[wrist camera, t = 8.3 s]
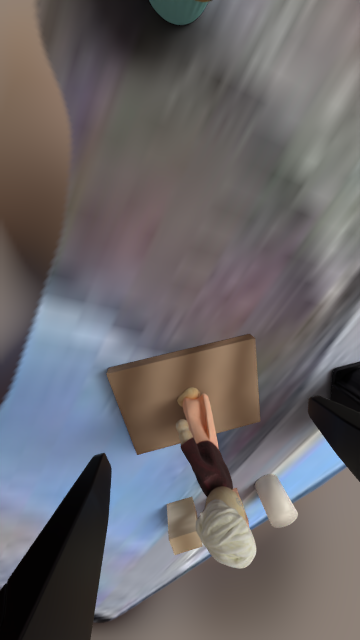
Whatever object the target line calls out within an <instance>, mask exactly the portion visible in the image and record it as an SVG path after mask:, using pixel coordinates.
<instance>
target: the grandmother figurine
mask: <svg viewBox="0 0 360 640" xmlns="http://www.w3.org/2000/svg"><path fill="white" fill-rule="evenodd" d="M177 402H178V404H179V405H180V406H181V407H183V410H184V414H185V416H186V419H187V421H186V420H184V419H180V420H179V421H177V423H176V429H177V431H178V432H179V439H180V442H181V449H182V451H183V453H184V455H185V456H186V458H187V460H188V461H189V463H190V465H191V466H192V469H193V471H194V473H195V475H196V478H197V481H198V483H199V485H200V487H201V489H202V491H203V492H204V494H205V495H206V496H207V499H206V505H205V509H204V510H203V512H200V516H199V517H198V518H197V520H196V532H197V534H198V536H199V537H200V539H201V541H202V543H203V544H204V545H205V547H206V548H207V549H208V551H209V553H210V554H211V555H212V556H213V557H214V558H215V560H216V561H218V562H220V563H222V564H225V565H227V566H230V567H234V568H244V567H247V566H248V565H249V564H250V563H251V562H252V560H253V558H254V556H255V554H256V545H255V541H254V538H253V535H252V533H251V530H250V528H249V527H248V525H247V523H246V515H245V509H244V506H243V503H242V501H241V499H240V498H239V496H238V495H237V494H236V492H234V491H233V484H232V480H231V476H230V473H229V471H228V468H227V466H226V464H225V463H224V461H223V458H222V455H221V453H220V451H219V449H218V442H217V437H216V431H215V426H214V421H213V415H212V411H211V405H210V401H209V398H208V396H207V395H206V394H201V396H200V392H199V391H198V389H196V388H193V387H191V388H188V389H186V390H185V391H184V392H183V393H182V394H181V395H180V396H179V397H178V399H177Z"/></svg>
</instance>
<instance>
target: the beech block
mask: <svg viewBox="0 0 360 640" xmlns="http://www.w3.org/2000/svg"><path fill="white" fill-rule="evenodd" d="M167 517H168V534H169V541H170V544H171V546H172V549H173V551H174V554H175V555H177V554H180V553H183V552H186V551H189V550H192V549H195V548H199V547H202V541H201V539H200V537H199V536H198V534H197V532H196V520H197V512H196V509H195V505H194V501H193V498H192V497H189V498H186V499H182V500H179V501H175V502H172V503H169V504H167Z"/></svg>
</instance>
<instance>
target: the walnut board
mask: <svg viewBox="0 0 360 640" xmlns="http://www.w3.org/2000/svg"><path fill="white" fill-rule="evenodd" d="M107 377H108V380H109V382H110V385H111V388H112V390H113V393H114V395H115V398H116V401H117V403H118V406H119V409H120V411H121V414H122V416H123V419H124V422H125V424H126V427H127V430H128V432H129V435H130V437H131V440H132V443H133V445H134V448H135V450H136V453H137V455H139V454H143V453H146V452H150V451H154V450H157V449H161V448H165V447H168V446H172V445H176V444H179V443H181V442H180V439H179V432H178V431H177V429H176V423H177V421H179V420H180V419H184V420H186V421H187V419H186V416H185V414H184V410H183V407H181V406H180V405H179V404H178V402H177V399H178V397H179V396H180V395H181V394H182V393H183V392H184V391H185V390H186V389H188V388H191V387H193V388H196V389H198V391H199V392H200V396H201V394H206V395H207V396H208V398H209V401H210V405H211V411H212V415H213V421H214V426H215V431H216V433H220V432H223V431H227V430H231V429H234V428H238V427H242V426H245V425H249V424H253V423H256V422H260V409H259V393H258V377H257V362H256V346H255V338H254V337H253V336H252V335H250V334H247V335H243V336H239V337H235V338H231V339H226V340H222V341H218V342H214V343H210V344H206V345H201V346H197V347H193V348H189V349H185V350H181V351H176V352H172V353H168V354H164V355H160V356H156V357H151V358H147V359H143V360H139V361H135V362H130V363H126V364H122V365H118V366H114V367H110V368H109V369H108V371H107Z"/></svg>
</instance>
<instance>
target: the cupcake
mask: <svg viewBox="0 0 360 640" xmlns="http://www.w3.org/2000/svg"><path fill="white" fill-rule="evenodd" d="M209 1H211V0H149V2H150V3H151V5H152V7H153V8H154V9H155V11H156V12H157V13H158V14H159V15H160V16H161V17H162V18H163V19H165V20H166V21H168V22H170V23H172V24H176V25H185V24H189V23H191V22H193V21H194V20H196V19H197V18H198V17H199V16H200V15H201V14H202V12H203V11H204V9H205V8H206V6H207V4H208V2H209Z"/></svg>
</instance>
